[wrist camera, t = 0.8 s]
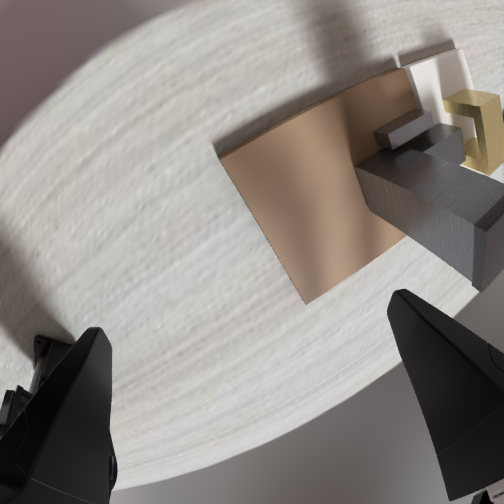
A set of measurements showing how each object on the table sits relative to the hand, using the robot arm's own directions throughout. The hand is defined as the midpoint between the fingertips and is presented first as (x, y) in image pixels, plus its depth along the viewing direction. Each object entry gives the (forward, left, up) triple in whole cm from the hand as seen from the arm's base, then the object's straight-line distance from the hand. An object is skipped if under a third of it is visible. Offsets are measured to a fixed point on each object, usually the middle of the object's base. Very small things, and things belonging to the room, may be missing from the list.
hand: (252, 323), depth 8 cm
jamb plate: (+16, -18, -13) cm, 27 cm away
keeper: (+16, -18, -13) cm, 27 cm away
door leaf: (+5, -10, -13) cm, 17 cm away
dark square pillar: (+9, -13, -11) cm, 20 cm away
